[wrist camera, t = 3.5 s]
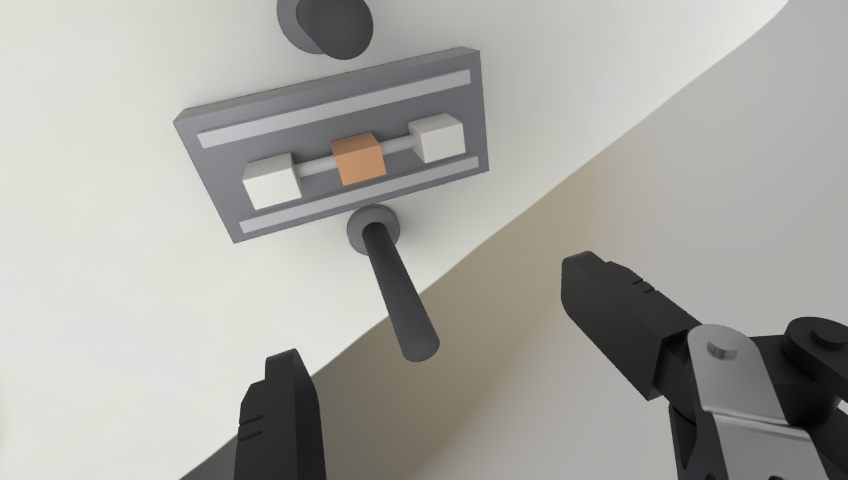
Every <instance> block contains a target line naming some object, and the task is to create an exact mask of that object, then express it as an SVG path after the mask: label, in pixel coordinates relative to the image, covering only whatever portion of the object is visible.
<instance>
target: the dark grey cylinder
mask: <svg viewBox="0 0 848 480" xmlns="http://www.w3.org/2000/svg"><path fill="white" fill-rule="evenodd" d="M277 16H278V21H279V24H280V27H281V29H282V31H283V33H284V34H285V36H286V37H287V38H288V40H289V41H290V42H291V43H292V44H293V45H295V46H296V47H297V48H299V49H301V50H303V51H305V52H308V53H312V54H323V53H325V54H327V55H328V56H330V57H332V58H335V59H339V60H348V59H352V58H355V57H357V56H359V55H360V54H362V53H363V52H364V51H365V50H366V48H367V47H368V45H369V43H370V41H371V38H372V34H373V20H372V16H371V13H370V10H369V8H368V6H367V5H366V3H365V2H364V1H363V0H278V2H277Z"/></svg>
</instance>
